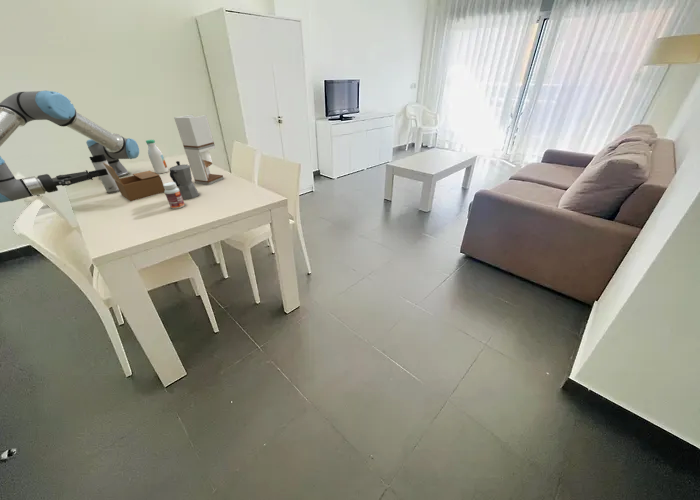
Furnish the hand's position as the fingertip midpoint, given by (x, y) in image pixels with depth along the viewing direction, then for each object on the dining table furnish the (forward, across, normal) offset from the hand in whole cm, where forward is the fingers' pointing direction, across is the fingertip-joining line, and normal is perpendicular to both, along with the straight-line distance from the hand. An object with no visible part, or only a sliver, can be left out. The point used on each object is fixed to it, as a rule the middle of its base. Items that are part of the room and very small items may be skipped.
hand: (106, 171), depth 137 cm
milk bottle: (+33, -36, -15) cm, 51 cm away
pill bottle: (+14, +34, -15) cm, 40 cm away
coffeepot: (+23, +26, -15) cm, 38 cm away
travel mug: (+2, -18, -15) cm, 23 cm away
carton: (+11, 0, -15) cm, 18 cm away
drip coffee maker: (+43, +9, -15) cm, 47 cm away
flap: (+2, 0, -1) cm, 3 cm away
